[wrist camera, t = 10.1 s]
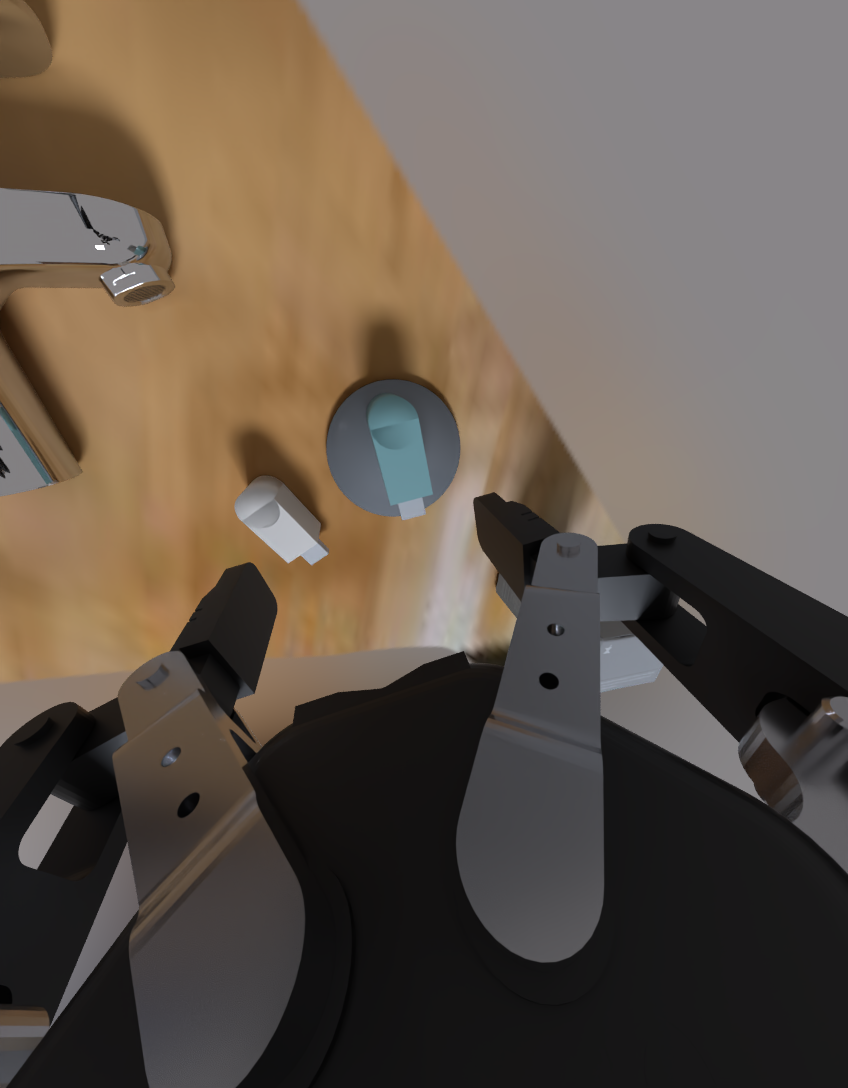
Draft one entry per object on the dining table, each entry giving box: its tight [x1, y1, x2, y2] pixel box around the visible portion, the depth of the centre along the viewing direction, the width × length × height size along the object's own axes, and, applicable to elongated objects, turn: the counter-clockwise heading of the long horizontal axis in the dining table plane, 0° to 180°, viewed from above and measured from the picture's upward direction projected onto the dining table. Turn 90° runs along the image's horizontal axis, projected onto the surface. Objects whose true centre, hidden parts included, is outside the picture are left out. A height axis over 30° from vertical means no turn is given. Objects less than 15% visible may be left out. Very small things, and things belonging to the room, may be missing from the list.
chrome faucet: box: [0, 0, 175, 496], centre depth 17 cm, size 18×7×20 cm
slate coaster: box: [327, 379, 460, 516], centre depth 28 cm, size 12×12×1 cm
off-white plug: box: [235, 475, 329, 565], centre depth 27 cm, size 9×3×4 cm, turn 31°
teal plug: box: [366, 393, 433, 520], centre depth 26 cm, size 10×4×4 cm, turn 11°
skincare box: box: [496, 573, 663, 692], centre depth 31 cm, size 8×7×16 cm
